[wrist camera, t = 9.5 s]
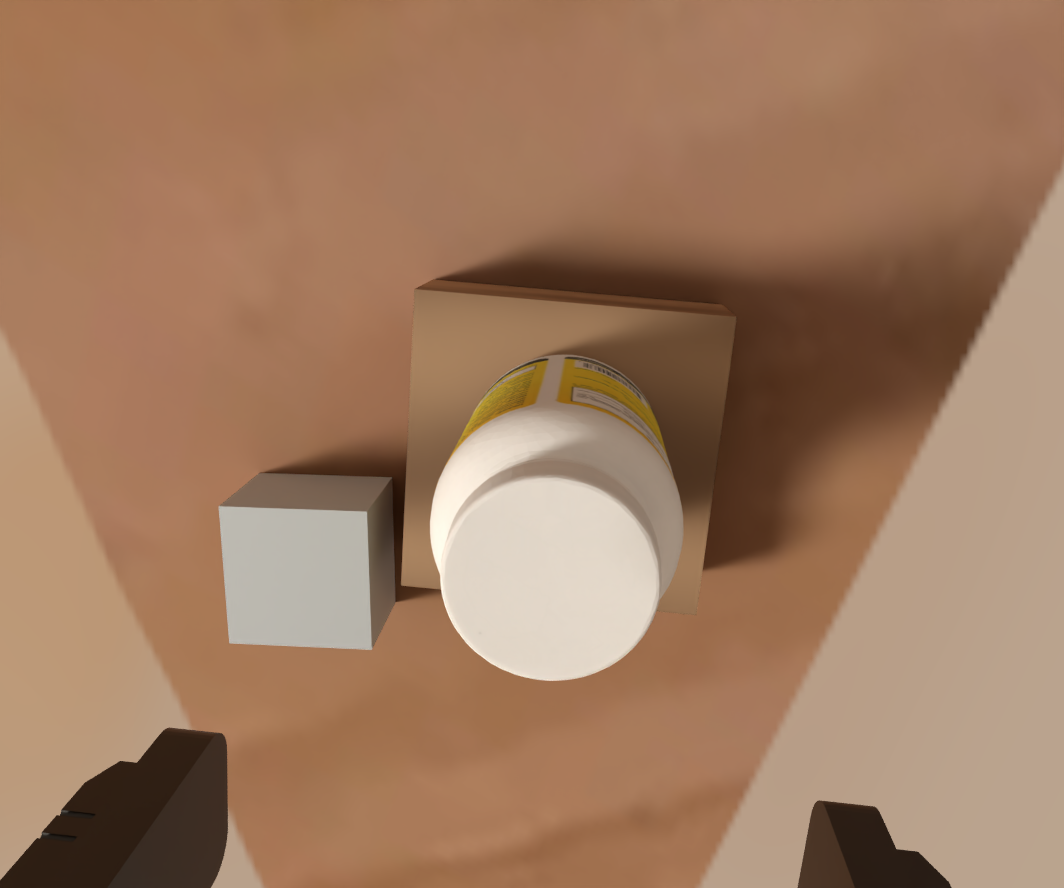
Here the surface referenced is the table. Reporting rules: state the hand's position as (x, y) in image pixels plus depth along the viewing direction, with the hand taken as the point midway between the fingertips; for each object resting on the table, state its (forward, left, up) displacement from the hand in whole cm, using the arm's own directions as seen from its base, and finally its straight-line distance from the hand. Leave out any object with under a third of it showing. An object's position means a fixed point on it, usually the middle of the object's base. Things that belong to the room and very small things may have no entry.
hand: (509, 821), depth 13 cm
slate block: (+5, -9, -22) cm, 24 cm away
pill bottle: (0, 0, -18) cm, 18 cm away
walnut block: (0, 0, -22) cm, 22 cm away
